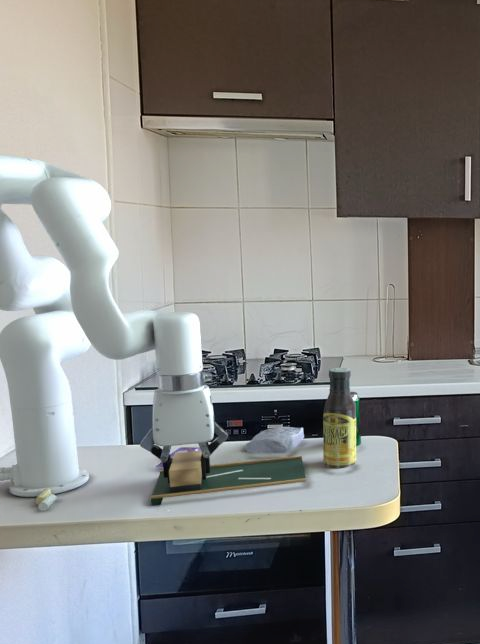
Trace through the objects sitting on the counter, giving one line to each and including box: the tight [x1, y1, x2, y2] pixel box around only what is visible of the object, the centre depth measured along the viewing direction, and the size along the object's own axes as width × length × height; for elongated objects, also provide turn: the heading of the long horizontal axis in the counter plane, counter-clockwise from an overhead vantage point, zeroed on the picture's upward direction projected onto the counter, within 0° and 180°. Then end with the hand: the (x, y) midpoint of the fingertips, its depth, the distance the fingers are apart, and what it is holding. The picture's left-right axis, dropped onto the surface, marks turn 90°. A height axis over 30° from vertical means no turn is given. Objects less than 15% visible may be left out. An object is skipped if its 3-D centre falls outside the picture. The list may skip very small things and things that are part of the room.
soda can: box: [350, 391, 362, 447], centre depth 157 cm, size 5×5×12 cm
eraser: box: [169, 450, 203, 493], centre depth 136 cm, size 5×10×4 cm, turn 18°
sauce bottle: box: [322, 367, 357, 469], centre depth 144 cm, size 6×6×20 cm
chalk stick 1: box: [34, 489, 51, 505], centre depth 131 cm, size 2×4×2 cm
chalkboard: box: [149, 455, 308, 506], centre depth 139 cm, size 26×14×2 cm, turn 108°
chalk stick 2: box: [37, 494, 57, 512], centre depth 128 cm, size 2×4×2 cm
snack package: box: [155, 446, 201, 469], centre depth 151 cm, size 12×2×5 cm
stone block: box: [245, 426, 305, 454], centre depth 158 cm, size 12×5×10 cm
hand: (187, 478), depth 136 cm, fingers closed on eraser, 5 cm apart
